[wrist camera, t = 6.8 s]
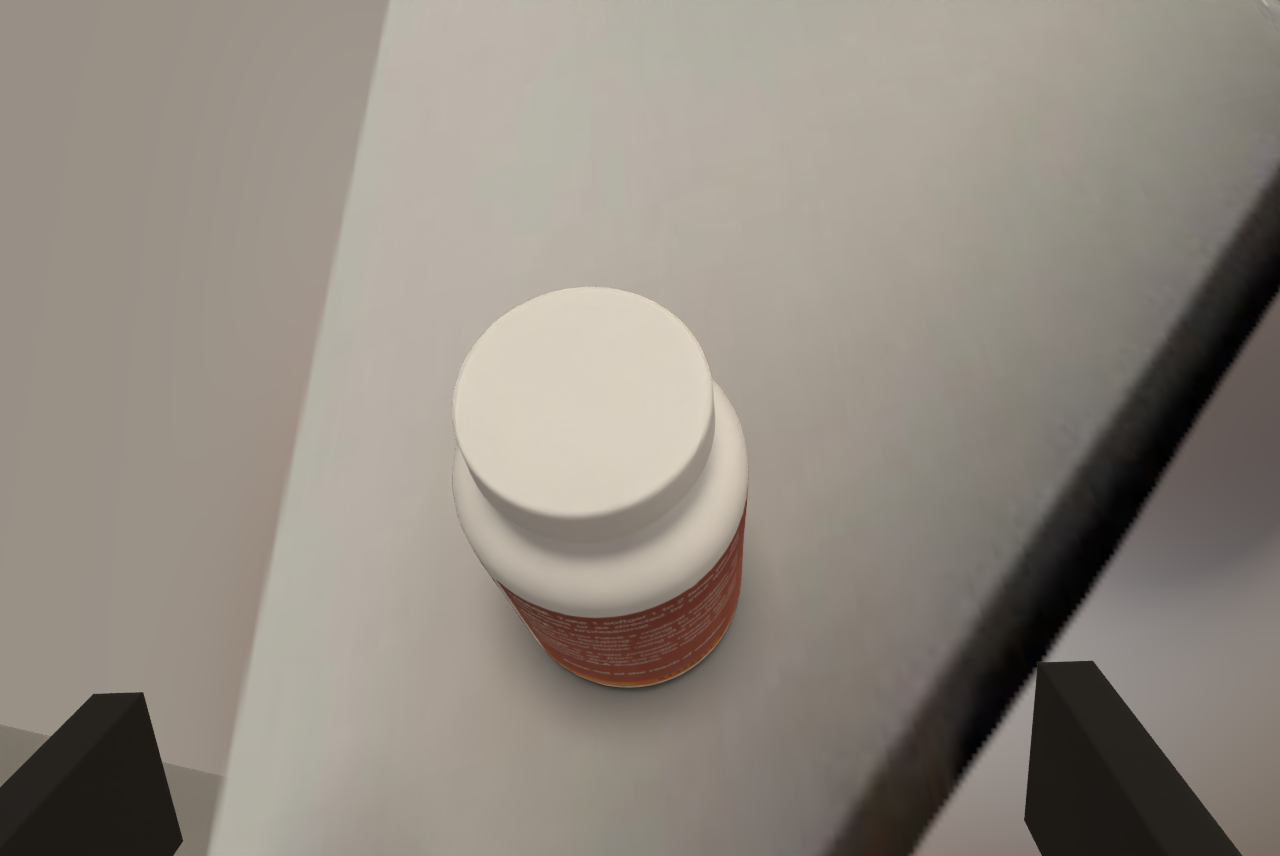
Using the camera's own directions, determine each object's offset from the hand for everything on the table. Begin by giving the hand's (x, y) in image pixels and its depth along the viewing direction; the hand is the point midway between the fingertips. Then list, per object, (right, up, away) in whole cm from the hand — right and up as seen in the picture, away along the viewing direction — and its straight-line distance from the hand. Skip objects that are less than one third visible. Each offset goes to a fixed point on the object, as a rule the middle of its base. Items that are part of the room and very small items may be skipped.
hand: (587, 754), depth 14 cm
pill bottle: (0, 0, +13) cm, 13 cm away
